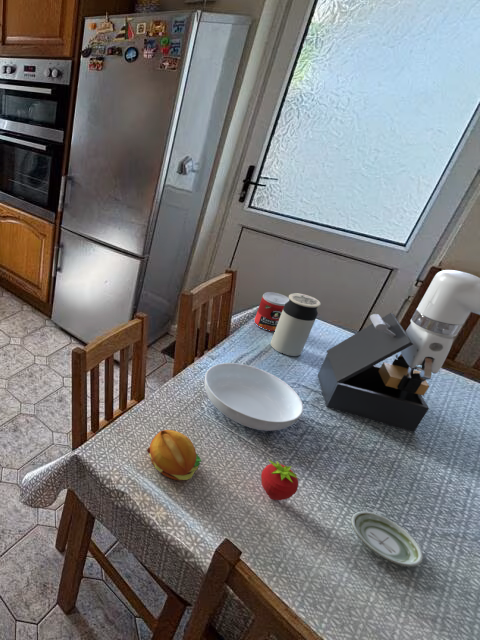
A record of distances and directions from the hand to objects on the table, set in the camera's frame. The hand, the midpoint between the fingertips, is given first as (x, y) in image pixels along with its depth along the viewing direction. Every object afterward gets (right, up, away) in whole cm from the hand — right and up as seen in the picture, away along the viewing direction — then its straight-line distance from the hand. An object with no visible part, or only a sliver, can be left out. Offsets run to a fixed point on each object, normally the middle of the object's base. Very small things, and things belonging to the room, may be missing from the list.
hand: (401, 381), depth 102 cm
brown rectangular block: (0, -1, 0) cm, 1 cm away
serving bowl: (-37, -9, +4) cm, 38 cm away
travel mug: (-9, +2, +26) cm, 28 cm away
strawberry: (-45, -19, -17) cm, 52 cm away
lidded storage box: (-4, -7, +6) cm, 10 cm away
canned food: (-6, +7, +37) cm, 39 cm away
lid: (-8, +8, +1) cm, 11 cm away
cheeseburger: (-63, -16, -10) cm, 66 cm away
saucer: (-31, -23, -26) cm, 46 cm away
